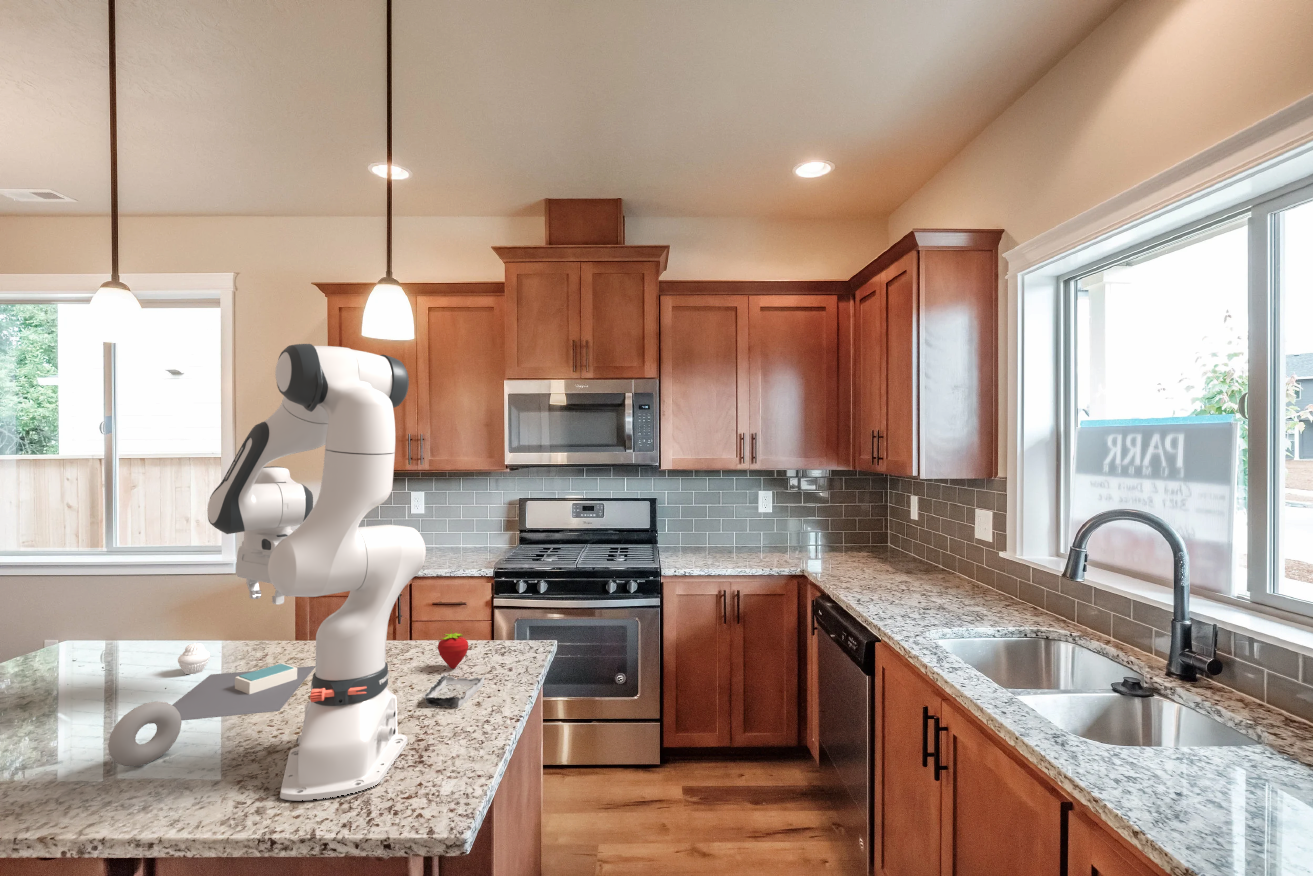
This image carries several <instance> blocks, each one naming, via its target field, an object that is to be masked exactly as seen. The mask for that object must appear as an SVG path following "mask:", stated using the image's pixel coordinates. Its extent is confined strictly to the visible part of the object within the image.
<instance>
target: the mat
mask: <svg viewBox="0 0 1313 876" xmlns="http://www.w3.org/2000/svg"><path fill="white" fill-rule="evenodd" d="M295 667H296V666H295ZM315 667H316V665H311V666H297V667H296V668H297V679H295V680H292V681H289V682H286V683H283V684H280V685H277V686H274V687H271V688H268V689H264V690H261V691H258V692H255V693H252V694H247V693H245V692H242V691H240V690H237V689H235V677H238V676H240V675H243V674H247V673H250V672H254V671H255V670H248V671H238V672H224V673H211V674H209V675H208V676H207V677H206V678H205V679H203V680H202V681H200V682H199V683H198V684H197V685H195V686H194V687H193V688H192V689H191V690H189V691H188V692H187V693H185V694H184V695H182V696H181V697H180V698H179V699H178V700H177V701H176V702H174V703H172V704H171V705H172V706H174V707H176V709H177V710H178V712H179V713H180V716H181V722H183V721H189V720H200V719H201V720H202V719H210V718H222V717H223V718H224V717H230V716H231V717H232V716H241V715H243V716H244V715H253V714H262V713H272V712H280V711H281V710H282V708H284V706H285V705H286V704H287V702H288V701H289V700H290V699H291V697H292V696H293V695H294V694H295V693H296V691H297V690H298V689H299V688H300V687H301V685H302V684H303V683H304V681H305V680H306V679H307V678H308V677H309V676H310V674H311V673H312V672H313V671H314V670H315ZM148 724H149V725H151V724H152V723H148Z"/></svg>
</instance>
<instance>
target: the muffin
mask: <svg viewBox="0 0 1313 876" xmlns="http://www.w3.org/2000/svg"><path fill="white" fill-rule="evenodd" d="M210 657H211V653H210V651H208V650H207V649H206V648H205V645H204V644H202V643H200V642H194V643H191V644H189V645H187V646H186V647H185V648H184V651H183V652H182V654H180V656H179V657H178V658H177V663H178V665H179V668H180V670H181V671H182V672H183V673H184V674H185V675H186V674H193V675H196V674H199V673H202V672H203V671H204V669H205V668H206V666H207V664H208V663H209V661H210V660H209V659H210Z"/></svg>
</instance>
